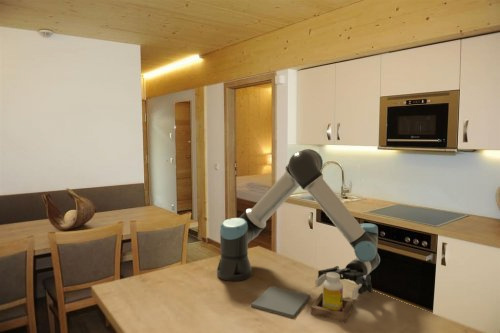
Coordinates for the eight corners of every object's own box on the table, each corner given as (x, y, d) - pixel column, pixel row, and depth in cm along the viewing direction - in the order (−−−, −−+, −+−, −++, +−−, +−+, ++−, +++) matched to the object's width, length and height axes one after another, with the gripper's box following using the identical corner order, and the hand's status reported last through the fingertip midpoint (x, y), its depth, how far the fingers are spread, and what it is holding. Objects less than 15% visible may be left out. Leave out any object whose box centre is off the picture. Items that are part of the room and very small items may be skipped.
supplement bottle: (342, 316, 118) (343, 279, 116) (322, 314, 119) (323, 278, 118) (341, 306, 124) (342, 271, 123) (322, 304, 126) (323, 270, 124)
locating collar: (310, 313, 119) (311, 306, 119) (321, 299, 129) (321, 292, 129) (344, 322, 114) (345, 315, 114) (353, 306, 124) (353, 300, 124)
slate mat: (251, 306, 125) (251, 303, 125) (270, 288, 139) (270, 286, 138) (293, 318, 117) (293, 315, 117) (309, 297, 131) (309, 295, 131)
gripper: (390, 287, 130) (369, 310, 113) (328, 270, 145) (302, 289, 129) (391, 267, 129) (370, 288, 112) (328, 253, 144) (302, 269, 128)
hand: (334, 288), depth 120 cm, fingers open, 13 cm apart
